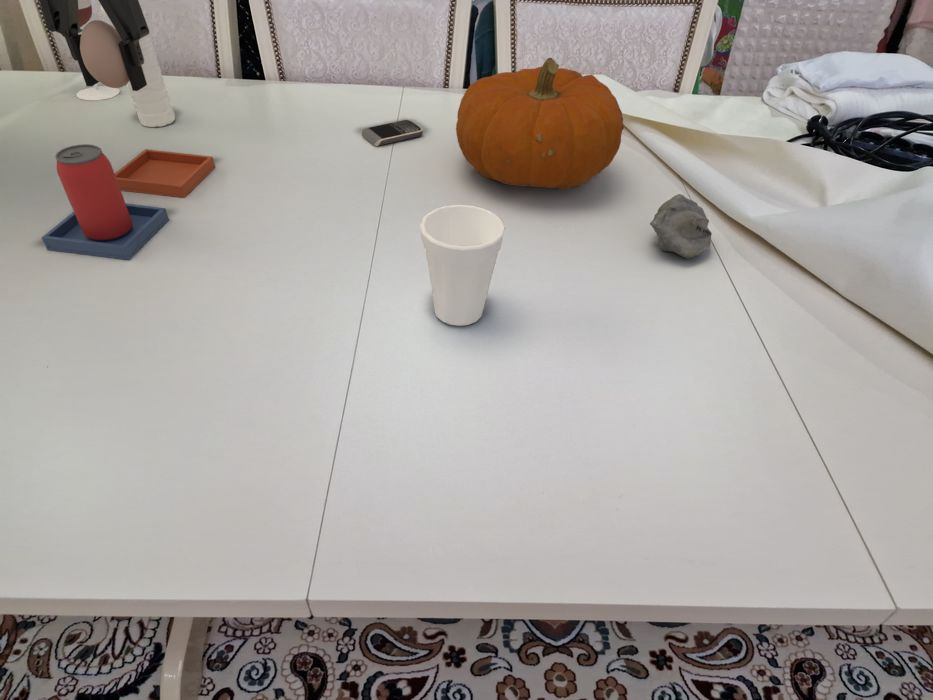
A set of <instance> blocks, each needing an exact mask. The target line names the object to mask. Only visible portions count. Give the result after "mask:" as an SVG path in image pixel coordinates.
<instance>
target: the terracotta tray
mask: <svg viewBox="0 0 933 700" xmlns="http://www.w3.org/2000/svg"><path fill="white" fill-rule="evenodd" d="M215 168H216V166H215V161H214V157H213V156H212V155H211V156H209V155H201V154H193V153H184V152H176V151H175V152H174V151H165V150H158V149H157V150H155V149H148V148H147V149H144V150H143V151H142V152H140V153H139V154H138V155H137V156H135V157H134V158H132V159H131V160H130V161H129V162H127V163H126V164H125V165H124V166H122V167H121V168H120V169H119V170H117V171H116V172H114V174H115V176H116V179H117V182H118V185H119V187H120V190H121V192H122V191H123V192H124V191H125V192H132V193H140V194H149V195H150V194H151V195H157V196H167V197H173V198H174V197H176V198H184V199H185V198H186V197H187V196H188V195H189V194H190V193H191V192H192V191H193V190H194V189H195V188H196V187H197V186H198V185H199V184H200V183H201V182H202V181H203V180H204V179H205V178H206V177H207V176H208V175H210V173H211V172H212V171H213V170H214V169H215Z"/></svg>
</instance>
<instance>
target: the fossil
mask: <svg viewBox="0 0 933 700" xmlns="http://www.w3.org/2000/svg"><path fill="white" fill-rule="evenodd" d="M709 222H710V220H709V218H708V217H707V215H706V213H705V210H704V209H703V208H702V206H700V205H698V203H697V202H696V201H694V200H692V199H690V198H687V197H686V196H685V195H683V194H681V193H678V194H676V195H674V196H672V197H671V198H670V199H667V200H666V201H665V202H663V203H662V204H661V205H660V206H659V207H658V209H657V212H656V213H655V214H654V216H653V219H652V220H651V221H650V222H649V225H650V226H651V227H652V229H653V230H654V233H655V235H656V236H657V237H658V247H659V250H661V251H664V252H668V253H676V254H677V255H679V256H681V257H683V258H685V259H690V258H694V257H696V256H698V255H701V254H703V253H705V252H706V251H707V250H708V249H709V248H710V246H711V243H712V233H713V232H712V231H711V230H710V228H708V226H709Z"/></svg>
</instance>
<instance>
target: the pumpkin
mask: <svg viewBox="0 0 933 700" xmlns="http://www.w3.org/2000/svg"><path fill="white" fill-rule="evenodd" d="M456 118H457V121H456V125H455V132H456V139H457V143H458V145H459V148H460V151H461V154H462V155H463V157H464V159H465V160H466V162H468V164H469V165H470V166H471V167H473V169H475V171H476V172H478V173H479V174H480V175H481V176H483V177H485V178H488V179H491V180H494V181H497V182H499V183H502V184H503V185H509V186H517V187H525V186H529V187H533V188H545V189H552V188H553V189H554V188H557V189H572V188H575V187H579V186H583V185H584V184H586V183H588V182H590V181H591V180H592V179H594V177H596V176H597V175H599V174H600V173H602V172H603V171H604V170H605V169H606V168H607V167H609V165H611V163H612V161H613V160H614V158H615V157H616V156H617V154H618V151H619V149H620V147H621V143H622V135H623V131H624V130H625V125H624V117H623V112H622V110H621V108H620V105H619V103H618V100H617V97H616V96H615V95H614V94H613V93H612V91H611V90H610V88H609V87H608V86H607V85H606V84H604V83H603V82H601V81H600V80H599V79H598V78H597V77H595V76H594V75H593V74H586V75H582V74H581V72H578V71H577V70H573V69H568V68H564V67H563V68H561V67H560V65H559V63H557V62H556V60H555V59H553V57H548V58H547V59H545V61H544V63H543V64H542V66H538V67H534V68H522V69H520V70H517V71H516V72H512V71H511V72H510V71H506V72H505V71H503V72H498V73H496V74H493V75H491V76H485V77H481V78H478V79H477V80H476V81H474V82H472V83H471V84H470V85H469V86H468V88H467V89H466V90H465V92H464V93H463V96H462V98H461V100H460V103H459V107H458V110H457V117H456Z"/></svg>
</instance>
